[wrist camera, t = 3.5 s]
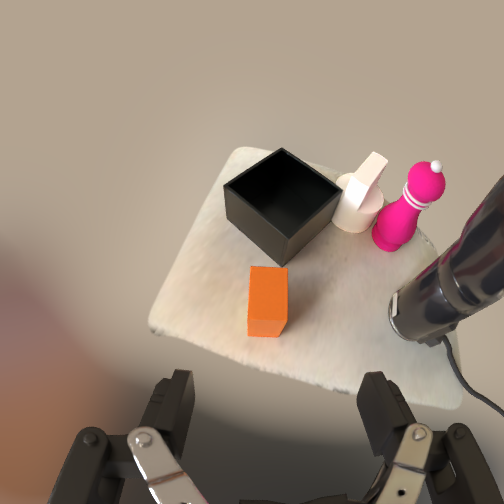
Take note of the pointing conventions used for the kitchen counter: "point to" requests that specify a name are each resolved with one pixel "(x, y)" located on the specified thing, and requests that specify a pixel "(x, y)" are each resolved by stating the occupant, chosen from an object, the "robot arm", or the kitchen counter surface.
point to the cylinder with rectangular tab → (360, 196)
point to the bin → (281, 204)
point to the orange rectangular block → (267, 301)
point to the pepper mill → (409, 206)
